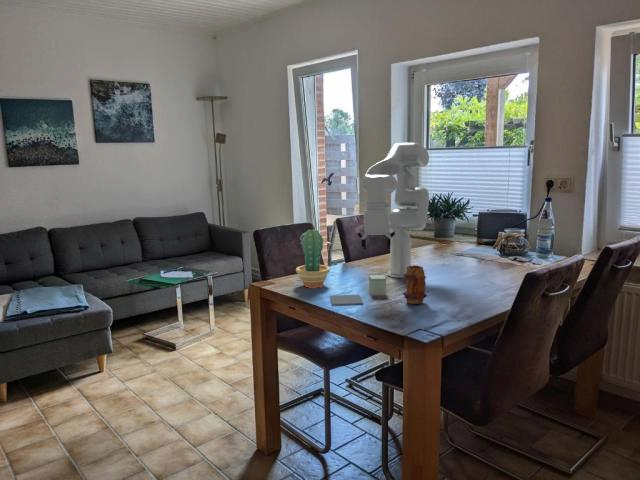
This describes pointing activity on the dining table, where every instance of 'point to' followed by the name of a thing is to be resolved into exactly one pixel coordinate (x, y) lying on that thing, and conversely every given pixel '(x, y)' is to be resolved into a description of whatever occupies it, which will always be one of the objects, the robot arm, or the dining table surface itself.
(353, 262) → the dining table surface
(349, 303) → the slate coaster
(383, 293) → the tea tin
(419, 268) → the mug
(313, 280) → the potted cactus
